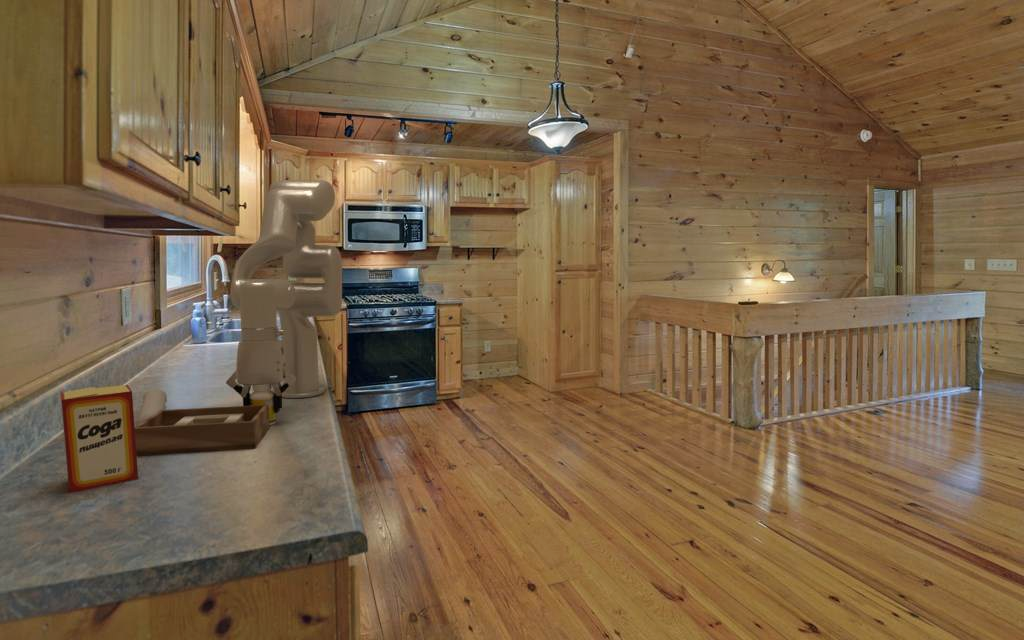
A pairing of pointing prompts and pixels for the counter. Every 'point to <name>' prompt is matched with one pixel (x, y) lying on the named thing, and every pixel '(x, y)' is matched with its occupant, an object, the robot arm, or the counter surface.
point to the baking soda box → (99, 436)
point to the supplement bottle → (264, 399)
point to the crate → (202, 430)
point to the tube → (152, 404)
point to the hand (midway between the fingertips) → (263, 411)
